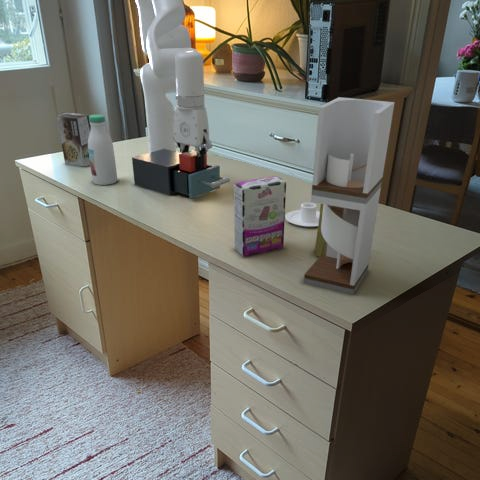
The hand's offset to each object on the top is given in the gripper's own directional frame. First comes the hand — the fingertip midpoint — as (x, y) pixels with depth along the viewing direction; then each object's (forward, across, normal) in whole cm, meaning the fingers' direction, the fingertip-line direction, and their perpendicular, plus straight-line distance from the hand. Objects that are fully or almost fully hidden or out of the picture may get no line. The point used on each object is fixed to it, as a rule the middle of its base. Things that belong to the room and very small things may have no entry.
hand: (193, 167), depth 153 cm
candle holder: (+8, +38, +3) cm, 39 cm away
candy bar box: (+8, +39, -20) cm, 45 cm away
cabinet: (+8, -12, 0) cm, 14 cm away
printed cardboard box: (+8, -52, -3) cm, 53 cm away
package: (0, 0, 0) cm, 0 cm away
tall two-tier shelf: (+8, +61, -20) cm, 65 cm away
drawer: (+7, +1, 0) cm, 7 cm away
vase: (+8, +53, -12) cm, 55 cm away
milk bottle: (+8, -29, -11) cm, 32 cm away
